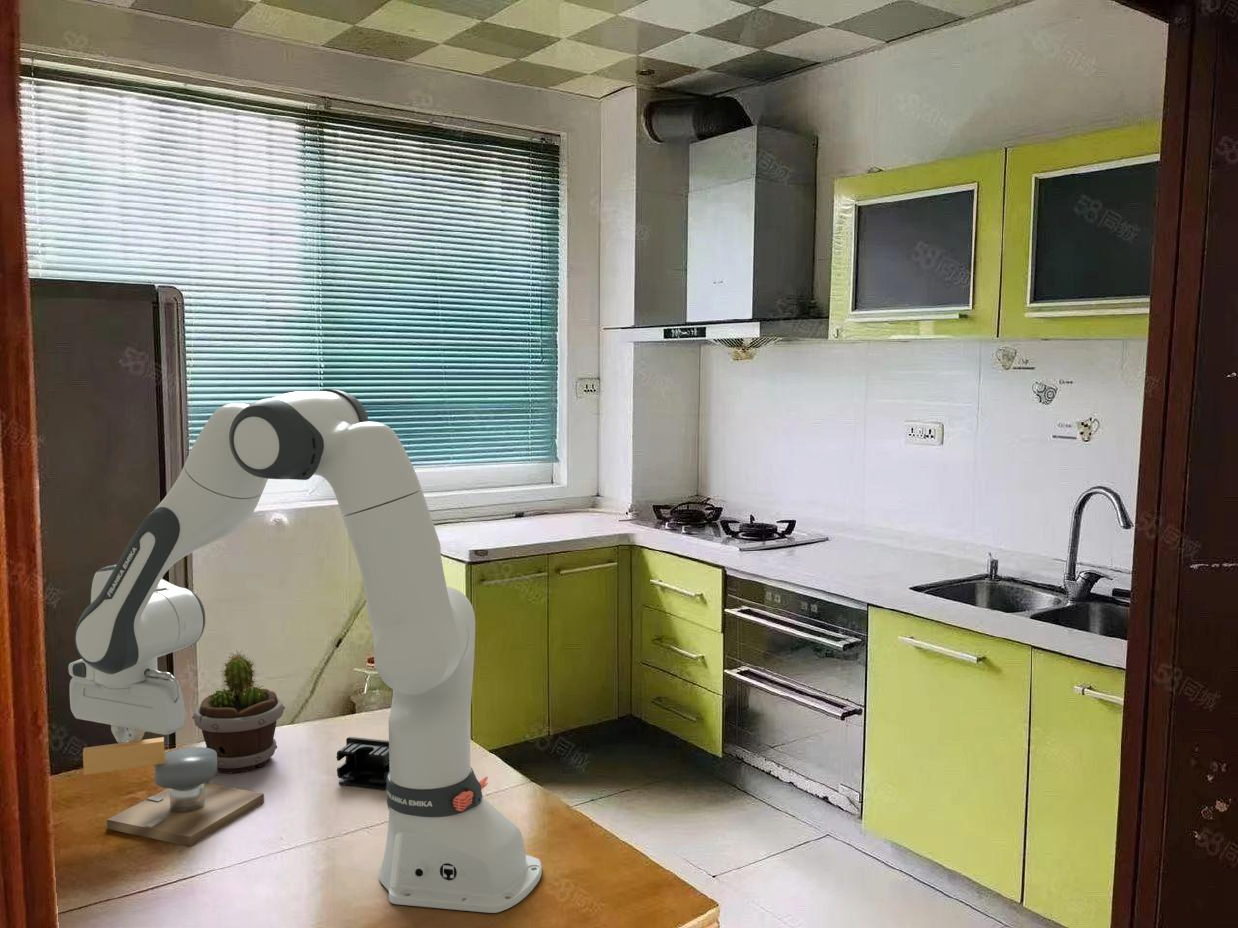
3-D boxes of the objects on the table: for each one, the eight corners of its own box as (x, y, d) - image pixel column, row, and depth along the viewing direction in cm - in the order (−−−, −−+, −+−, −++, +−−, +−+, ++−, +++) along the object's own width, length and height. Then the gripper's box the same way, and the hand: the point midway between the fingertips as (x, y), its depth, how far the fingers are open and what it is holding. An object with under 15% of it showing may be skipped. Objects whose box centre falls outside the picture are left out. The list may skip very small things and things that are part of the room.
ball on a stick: (216, 761, 162) (214, 722, 162) (219, 782, 154) (217, 741, 153) (87, 780, 154) (85, 739, 154) (83, 803, 146) (81, 760, 146)
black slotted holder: (408, 774, 173) (407, 736, 172) (388, 791, 166) (388, 752, 166) (356, 768, 175) (355, 731, 175) (335, 785, 169) (334, 746, 168)
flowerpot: (282, 774, 173) (278, 661, 171) (187, 782, 169) (182, 667, 167) (289, 744, 187) (286, 639, 185) (202, 751, 183) (198, 644, 181)
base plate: (264, 802, 161) (263, 792, 161) (190, 846, 147) (189, 835, 146) (186, 787, 167) (185, 778, 167) (107, 828, 152) (106, 818, 152)
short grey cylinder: (212, 801, 158) (210, 774, 158) (188, 815, 153) (187, 786, 153) (187, 797, 160) (186, 770, 159) (162, 810, 155) (161, 782, 155)
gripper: (193, 668, 153) (197, 755, 154) (94, 652, 160) (98, 736, 162) (161, 680, 147) (164, 770, 148) (60, 663, 154) (64, 750, 156)
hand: (129, 752), depth 155 cm, fingers closed
